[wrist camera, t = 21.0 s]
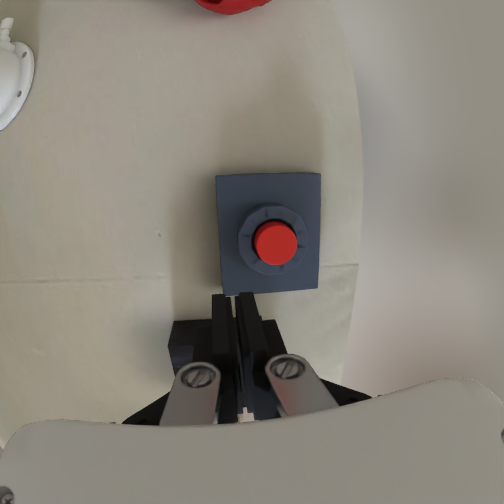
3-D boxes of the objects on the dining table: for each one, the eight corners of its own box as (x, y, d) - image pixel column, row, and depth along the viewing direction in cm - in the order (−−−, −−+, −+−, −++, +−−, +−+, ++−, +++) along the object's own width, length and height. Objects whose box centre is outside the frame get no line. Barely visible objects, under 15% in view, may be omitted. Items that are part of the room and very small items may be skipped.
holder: (173, 320, 32) (167, 345, 27) (261, 315, 33) (267, 339, 28) (186, 383, 35) (184, 410, 31) (262, 379, 36) (267, 405, 31)
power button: (253, 222, 26) (255, 226, 24) (292, 220, 26) (297, 224, 25) (254, 260, 27) (256, 266, 25) (292, 257, 27) (296, 263, 26)
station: (215, 175, 28) (215, 177, 24) (313, 172, 29) (327, 174, 25) (223, 287, 32) (223, 304, 28) (311, 280, 32) (323, 295, 29)
